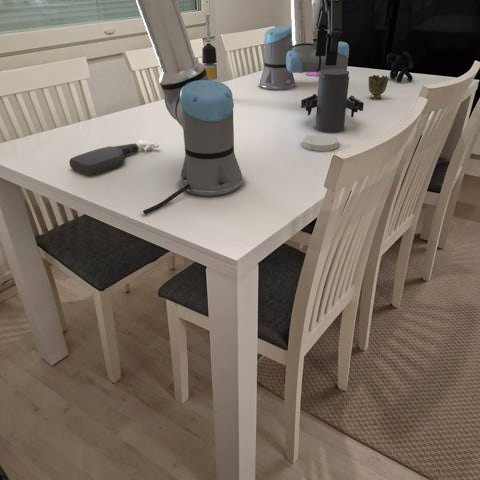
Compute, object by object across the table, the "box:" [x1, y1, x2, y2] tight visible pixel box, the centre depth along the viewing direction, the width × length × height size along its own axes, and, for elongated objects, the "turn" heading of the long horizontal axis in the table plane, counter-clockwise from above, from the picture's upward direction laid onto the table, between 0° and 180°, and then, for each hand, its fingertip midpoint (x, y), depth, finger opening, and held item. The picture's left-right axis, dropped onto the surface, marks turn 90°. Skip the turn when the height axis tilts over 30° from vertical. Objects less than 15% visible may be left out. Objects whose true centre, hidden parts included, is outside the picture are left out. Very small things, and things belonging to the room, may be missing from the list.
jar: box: [314, 69, 350, 134], centre depth 141 cm, size 9×9×18 cm
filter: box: [201, 14, 218, 81], centre depth 171 cm, size 6×6×30 cm
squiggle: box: [385, 51, 414, 83], centre depth 198 cm, size 11×10×15 cm
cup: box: [368, 74, 390, 99], centre depth 173 cm, size 8×7×8 cm
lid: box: [302, 133, 339, 152], centre depth 132 cm, size 10×10×2 cm
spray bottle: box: [68, 139, 160, 177], centre depth 124 cm, size 3×11×24 cm
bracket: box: [305, 72, 320, 77], centre depth 214 cm, size 13×6×7 cm, turn 143°
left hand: (325, 60), depth 119 cm, fingers open, 13 cm apart
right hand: (330, 112), depth 139 cm, fingers open, 13 cm apart
